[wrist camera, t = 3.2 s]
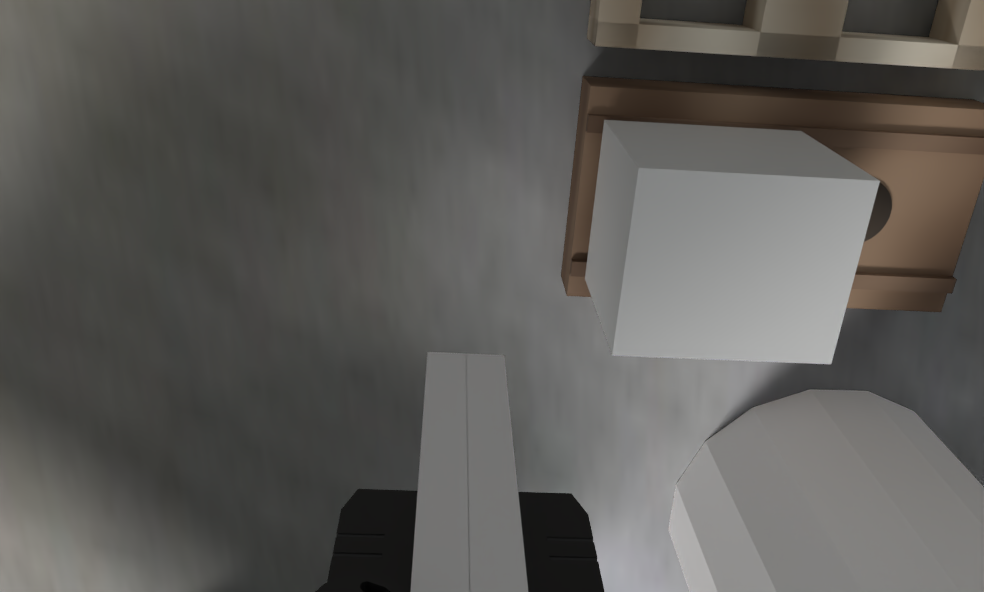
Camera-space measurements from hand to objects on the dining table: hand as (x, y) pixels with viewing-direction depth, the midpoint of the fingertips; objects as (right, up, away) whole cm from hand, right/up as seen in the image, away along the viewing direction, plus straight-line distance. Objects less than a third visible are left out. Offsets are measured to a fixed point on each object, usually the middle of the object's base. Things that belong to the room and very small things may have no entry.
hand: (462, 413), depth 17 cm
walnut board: (+11, +6, +16) cm, 21 cm away
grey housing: (+8, +6, +14) cm, 17 cm away
